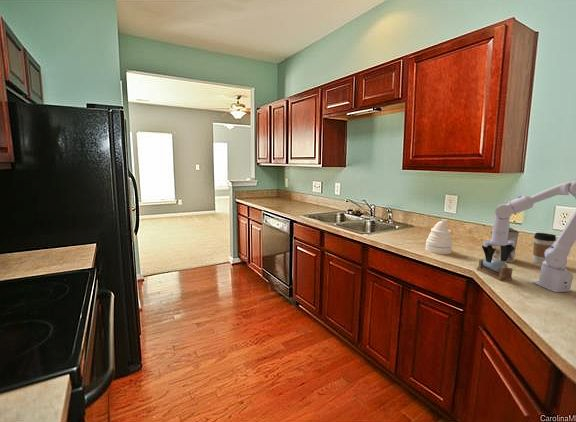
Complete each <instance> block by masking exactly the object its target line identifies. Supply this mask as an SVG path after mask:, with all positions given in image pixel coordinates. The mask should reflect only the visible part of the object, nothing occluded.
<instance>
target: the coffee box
mask: <svg viewBox="0 0 576 422" xmlns="http://www.w3.org/2000/svg"><path fill="white" fill-rule="evenodd" d="M519 232H520V231H518V230H515V229H514V228H512V227H509V232H508V239H507V240H511V241H514V242H515V244H514V246H513V247H515V249H514V250H513V251H512V252H511V253H510V255H509V257H508V258H507V260H506V262H505V263H507V262H508V263H514V261H515V255H516V250H517V244H518V238H519ZM493 248H495V249H496V250H495V252H494V254H493V258H494V259H495V258H496V260H499V261H501V248H500V246H493ZM501 262H502V261H501Z"/></svg>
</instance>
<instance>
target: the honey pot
mask: <svg viewBox="0 0 576 422" xmlns="http://www.w3.org/2000/svg"><path fill="white" fill-rule="evenodd" d="M447 221H448V219H445V218H442V219H441V220H440V221H438V222H437V223H435V224H434V227H432V228H431V229H430V230H431V231H430V233H429V234H428V236H427V238H426V242H425V250H426V251H427V252H429V253H432V252H433V253H432V254H437V253H438V255H450V254H451V253H452V248H453V241H452V239H451V238H452V236H451V235H450V234H451V233H452V230H450V229H449V228H448V226H447V224H446V223H447ZM449 253H450V254H449Z"/></svg>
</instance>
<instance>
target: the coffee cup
mask: <svg viewBox="0 0 576 422" xmlns="http://www.w3.org/2000/svg"><path fill="white" fill-rule="evenodd" d="M556 237H557V235H556V234H553V233H551V234H550V233H547V232H546V233H545V232H535V234H534V236H533V238H534V241H533V256H532V262H533V263H534V264H535V263H536V264H537V265H542V262H543V261H545V260H546V258H545V256H544V252H545V250H546V249H548V248H550V247H551V246H552V245H553V243H554V242H556V241H557V238H556Z"/></svg>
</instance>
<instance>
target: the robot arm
mask: <svg viewBox="0 0 576 422" xmlns="http://www.w3.org/2000/svg"><path fill="white" fill-rule="evenodd" d="M570 195H572V196H573V197H574V198H575V200H576V178H574V179H572V180H570V181H564V182H561V183H559V184H556V185H553V186H551V187H549V188H546V189H544V190H541V191H539V192H537V193H535V194H533V195H531V196H530V195H524V194H523V195H521V194H520V195H518V196H517V197H516V198H515V199H512V200H509V201H504V203H501V204H499V205H498V206H496V208H495V210H494V212H495V215H494V220H493V225H492V231H491V238H490V239H489V240H483V241H482V244H481V248H482V250H483V253H484V257H485V258H486V261H487V262H489V263H491V261H492V258H494V256H493V254H494V252H495V250H496V249H495V248H494V246H500V248H501V262H503V263H507V262H506V260H507V258H508V257H509V255H510V253H511V252H512V251H513V250H514V249H515V247H513V246H514V244H515V242H514V241H511V240H507V239H508V232H509V228H510V225H511V222H510V219H511V217H512V215H516V214H518V213H521V212H522V213H523V212H525V211H527V210H530V209H533V207H534V204H537V203H539V202H542V201H544V200H547V199H549V198H550V199H551V198H553V197H555V196H570ZM575 242H576V210H575V211H574V213H573V214H572V216H571V218H570V219H569V220H568V222H567V223H566V225H565V226H564V228H563V229H562V231H561V233H560V234H559V236H558V237H557V238H556V241H554V243H553V245H552V246H551V247H550V248H548V249H546V250H545V252H544V256H545V258H546V260H545V261H543V262H542V264H541V268H540V273H539V278H538V281H532V284H535V285H537V286H539V287H542V288H544V289H547V290H549V291H551V292H554V293H565V292H572V288H571V287H572V283H573V277H574V275H573V273H572V272H571V271H570V270H568V269H567V268H566V264H567V263H568V256H569V255H570V252H571V248H572V247H573V245H574V244H575ZM485 258H484V259H485Z"/></svg>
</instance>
